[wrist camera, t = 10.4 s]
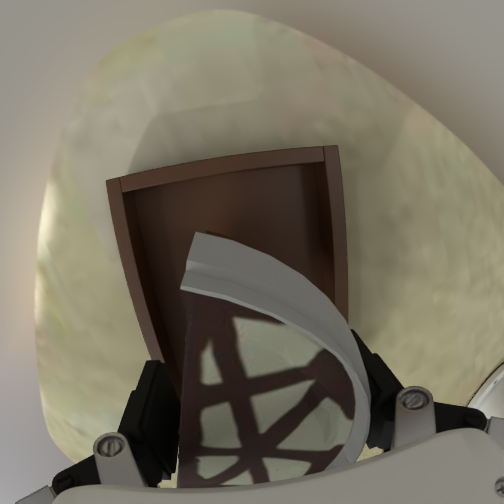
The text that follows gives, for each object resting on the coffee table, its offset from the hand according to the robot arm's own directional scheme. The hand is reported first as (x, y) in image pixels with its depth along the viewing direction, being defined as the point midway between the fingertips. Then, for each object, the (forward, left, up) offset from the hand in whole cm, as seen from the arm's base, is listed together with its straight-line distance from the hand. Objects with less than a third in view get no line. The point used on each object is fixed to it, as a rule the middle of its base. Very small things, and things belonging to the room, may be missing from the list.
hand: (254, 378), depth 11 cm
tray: (0, 0, -7) cm, 7 cm away
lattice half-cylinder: (0, 0, -5) cm, 5 cm away
